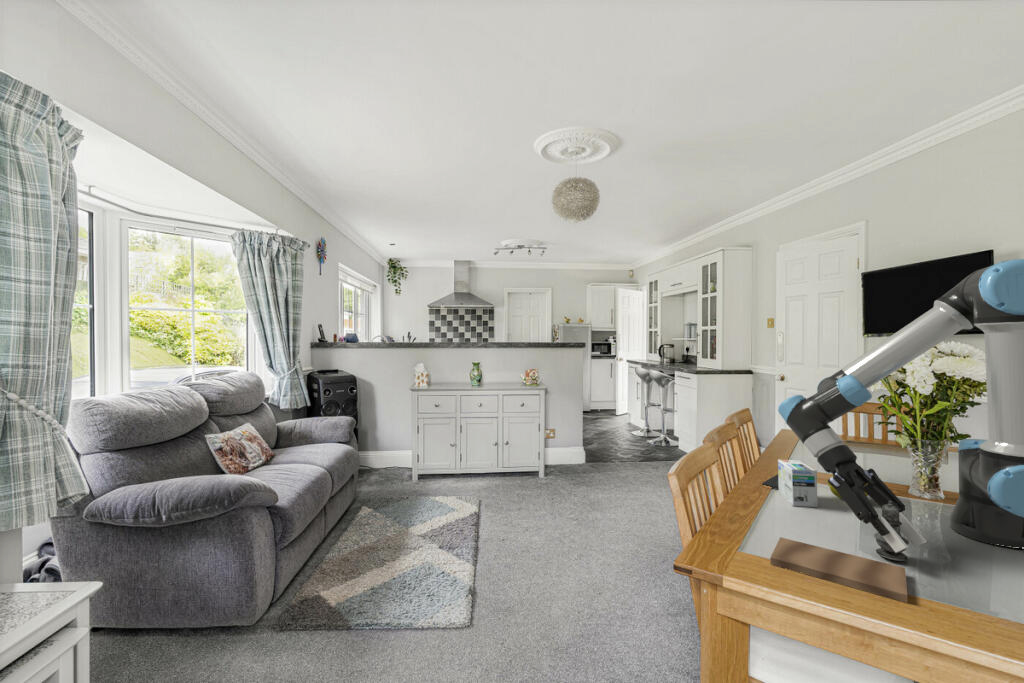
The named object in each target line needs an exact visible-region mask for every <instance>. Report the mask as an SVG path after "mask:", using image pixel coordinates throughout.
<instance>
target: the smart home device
mask: <svg viewBox="0 0 1024 683" xmlns="http://www.w3.org/2000/svg"><path fill="white" fill-rule="evenodd" d="M762 485H766V486H770V487H772V489H771V490H773V489H774V491H777V490H779V481H778V473H777V474H775V475H774V476H772V477H769V478H768V479H767V480H765V481H762V483H761V486H762Z"/></svg>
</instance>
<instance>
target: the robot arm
mask: <svg viewBox="0 0 1024 683" xmlns="http://www.w3.org/2000/svg"><path fill="white" fill-rule="evenodd" d="M975 327H976V328H978V329H979V330H981V331H982V332H983V333H984V334H983V336H984V352H985V353H984V355H985V356H984V357H985V377H986V378H985V379H986V380H985V382H986V403H987V404H986V405H987V421H988V422H987V426H988V427H987V428H988V439H981V438H978V439H977V438H964V439H961V440H959V442H958V449H957V453H958V498H957V501H956V502H955V504H954V507H953V509H952V511H951V513H950V515H949V525H948V526H949V528H950V529H951V528H952V529H951V530H952V531H953V532H956V533H958V534H959V533H960V534H959V535H961V536H964V537H966V536H967V538H969V539H972V540H975V541H978V540H979V542H981V541H983V542H982V543H985V542H987V543H986V544H988V543H992V544H999V545H1004V546H1011V547H1019V548H1022V547H1024V258H1018V259H1010V260H1003V261H999V262H997V263H995V264H992V265H990V266H986V267H983V268H979V269H977V270H975V271H973V272H972V273H970V274H969V275H967V276H966V277H965V278H964V279H962V280H961V281H960V282H959V283H957V284H956V285H955V286H954V287H953V288H951V289H949V290H948V291H947V292H945V293H944V294H943V295H942V296H941V297H938V298H937V299H936V300H934V302H933V307H932V308H930V309H929V310H928V311H926V312H924V313H923V314H921V315H920V316H918V317H917V318H915V319H914V320H913V321H911V322H910V323H908V324H906V325H905V326H904V327H902V328H900V329H899V330H898V331H896V332H895V333H893V334H892V335H890V336H889V337H887V338H886V339H885V340H883V341H881V342H880V343H878V344H877V345H876V346H874V347H872V348H871V349H869V350H868V351H866V352H865V353H863V354H862V355H860V356H858V357H857V358H856V359H854V360H853V361H852V362H850V363H849V364H847V365H845V366H844V367H842V368H841V369H840V370H838V371H836V372H835V373H834V374H832V375H830V376H827V377H825V378H823V379H822V380H821V381H820V382H818V385H817V387H816V393H815V394H813V395H811V396H809V397H807V398H806V397H804V396H803V395H802V394H795V395H792V396H791V397H788V398H786V399H785V400H783V401H782V402H781V403H780V404H779V405H778V408H777V412H778V413H779V415H780V417H781V418H782V419H783V421H784V422H785V424H786V425H787V426H788V427H789V428H790V430H791V431H792V432H793V433H794V434H795V435H796V437H798V439H799V440H800V441H801V443H802V444H803V445H804V446H805V447H806V449H808V451H809V453H811V455H812V456H813V457H814V458H816V459H817V463H818V464H819V465H820V466H821V467H822V469H823V470H824V471H825V472H826V473H828V474H829V473H830V474H832V476H833V477H832V476H831V477H832V478H831V477H830V478H829V479H827V481H828V483H829V484H830V485H831V486H832V487H834V488H835V489H836V491H837V492H838V493H839V494H840V496H841V497H842V498H843V499H842V500H843V501H844V502H845V504H846V505H847V507H848V508H849V509H850V510H851V512H852V513H853V514H854V515H855V517H856V518H857V519H858V520H859V521H862V522H863V523H864V524H867V525H868V524H869V523H870V524H871V526H873V528H874V529H875V530H876V532H877V533H879V534H880V535H881V536H883V538H884V539H885V540H886V541H887V543H888V544H889V545H890V546H891V547H892V549H893V550H894V551H895V552H899V551H901V550H903V549H905V548H906V549H907V548H909V546H908V545H906V543H905V542H904V541H903V540H902V539H901V537H900V536H899V535H898V534H897V533H896V531H895V530H894V529H893V528H892V527H891V526H890V524H889V523H888V522H887V521H886V520H885V518H884V517H882V516H881V517H879V514H878V512H877V511H876V509H875V507H874V505H873V504H872V503H871V501H870V499H869V498H868V497H870V498H871V499H872V500H873V501H874V502H875V504H877V505H879V507H880V508H882V506H883V505H885V504H889V501H892V504H893V505H895V506H896V507H898V508H899V519H900V522H901V523H902V525H900V533H901V534H903V536H904V538H905V539H907V540H908V541H909V544H911V545H912V546H913V547H914V548H916V547H919V546H921V545H923V544H925V543H927V542H928V541H927V539H926V538H925V537H924V536H923V535H922V534H921V532H919V530H917V528H916V527H915V526H914V525H913V523H912V522H911V520H910V519H908V518H907V516H906V515H905V514H904V511H905V510H906V505H905V504H904V503H903V502H902V501H901V500H900V499H899V498H898V496H897V495H896V494H895V493H894V492H893V491H892V490H891V489H890V488H889V487H888V486H887V485H886V483H885V482H883V480H882V479H881V478H880V477H879V476H878V474H877V472H876V471H875V470H874V469H873V468H869V469H864V468H863V467H862V466H860V465H859V464H858V463H857V459H858V457H857V455H856V454H855V453H854V451H853V450H851V448H850V447H849V446H848V445H847V444H844V443H845V441H844V440H843V439H842V438H841V437H840V436H839V434H838V433H837V432H836V431H835V430H834V429H833V428H832V426H830V425H829V424H830V423H832V422H834V421H835V420H837V419H838V418H840V417H843V416H844V415H846V414H848V413H850V412H851V411H853V410H855V409H858V407H862V406H863V404H865V403H867V402H868V401H870V400H871V399H872V396H873V395H872V393H871V392H870V391H869V389H870V387H872V386H874V385H876V384H877V383H879V382H880V381H882V380H884V379H885V378H887V377H888V376H890V375H892V374H893V373H895V372H896V371H898V370H899V369H901V368H902V367H904V366H906V365H907V364H909V363H911V362H913V361H914V360H915V359H917V358H918V357H920V356H921V355H923V354H925V353H927V352H928V351H930V350H931V349H933V348H934V347H936V346H938V345H939V344H941V343H942V342H944V341H945V340H947V339H949V338H950V337H952V336H953V335H955V334H957V333H958V332H960V331H962V330H972V329H974V328H975ZM828 483H827V484H828ZM866 484H867V485H866ZM864 485H865V486H864ZM864 492H865V493H866V494H868V496H866V494H865V493H864ZM992 544H991V545H992Z"/></svg>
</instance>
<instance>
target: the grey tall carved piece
mask: <svg viewBox="0 0 1024 683" xmlns="http://www.w3.org/2000/svg"><path fill="white" fill-rule="evenodd" d="M881 517H884V518H885V520H886V521H887V522H888V523H889V524H890V526H891V527H892V528H893V529H894V530H895V531H896V533H897V534H898V535H899V536H900V537H901V539H902V540H903V541H904V542H905V543H906V545H907V546H908V545H910V541H909V540H908V539H907V538H906V537H903V536H902V532H901V531H900V525H902V523H901V522H900V519H899V508H898V507H896V506H895V505H893V504H892V501H889V504H885V505H883V506H882V507H881ZM873 537H874V538H875V540H876V543H877V545H878V546H879V548H877V549H875V551H876V554H878V555H879V556H880V557H883V558H885V559H887V560H893V561H899V562H904V561H907V560H908V559H909V557H908V555H907V554H906V553H904V552H905V551H906V550H907V548H905V549H903V550H901V551H899V552H895V551H894V550H893V549H892V547H891V546H890V545H889V544H888V543H887V541H886V540H885V539H884V538H883V536H881V535H880V534H879V533H878V532H876V533H874V534H873Z"/></svg>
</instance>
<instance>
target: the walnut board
mask: <svg viewBox="0 0 1024 683" xmlns="http://www.w3.org/2000/svg"><path fill="white" fill-rule="evenodd" d="M771 564H772V566H775V567H778V566H779V568H782V567H783V568H782V569H785V568H786V569H787V570H789V569H791V570H790V571H792V570H794V571H793V572H796V571H798V572H797V573H800V572H802V573H801V574H803V573H804V575H807V574H808V575H807V576H810V577H814V578H818V579H821V580H825V581H828V582H831V583H835V584H838V585H843V586H845V587H849V588H853V589H855V590H856V589H857V590H860V591H863V592H865V593H871V594H873V595H877V596H880V597H883V598H884V597H885V598H887V599H891V600H895V601H899V602H901V601H902V603H905V602H906V604H908V598H909V597H908V588H907V586H908V585H907V577H906V576H907V575H906V568H905V567H904V566H903V567H902V566H899V565H895V564H891V563H886V562H883V561H878V560H874V559H871V558H867V557H863V556H858V555H855V554H850V553H846V552H842V551H838V550H833V549H830V548H826V547H822V546H817V545H813V544H810V543H805V542H801V541H797V540H793V539H790V538H785V537H780V536H779V539H778V541H777V543H776V545H775V547H774V549H773V551H772V553H771V555H770V565H771Z"/></svg>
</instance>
